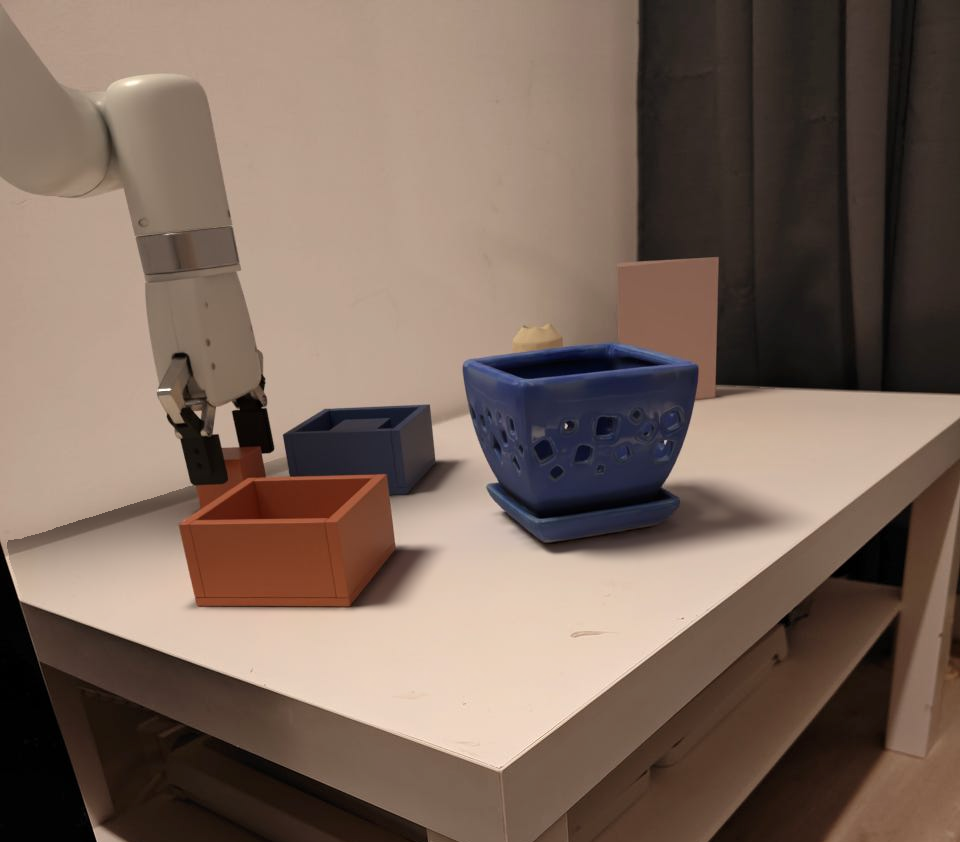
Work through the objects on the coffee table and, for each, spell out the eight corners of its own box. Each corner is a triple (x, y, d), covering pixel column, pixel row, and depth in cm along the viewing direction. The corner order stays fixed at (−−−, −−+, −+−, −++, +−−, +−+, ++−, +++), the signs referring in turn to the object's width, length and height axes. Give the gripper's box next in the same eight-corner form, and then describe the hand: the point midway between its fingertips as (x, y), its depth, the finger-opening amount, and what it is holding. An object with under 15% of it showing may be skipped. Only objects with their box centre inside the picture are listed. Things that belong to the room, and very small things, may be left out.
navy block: (335, 480, 85) (328, 430, 83) (351, 467, 89) (344, 419, 87) (382, 478, 84) (376, 429, 82) (396, 465, 88) (390, 417, 86)
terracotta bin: (196, 606, 61) (177, 524, 59) (261, 550, 70) (247, 477, 68) (350, 606, 59) (337, 521, 56) (396, 549, 68) (386, 474, 66)
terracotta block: (201, 511, 81) (190, 461, 79) (223, 496, 85) (213, 447, 83) (249, 511, 80) (239, 459, 78) (269, 495, 84) (260, 446, 82)
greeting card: (716, 395, 108) (720, 256, 102) (702, 409, 102) (705, 262, 96) (621, 395, 113) (619, 262, 107) (602, 408, 107) (599, 268, 101)
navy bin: (292, 496, 83) (282, 434, 81) (332, 465, 93) (324, 408, 90) (407, 494, 81) (399, 430, 79) (435, 462, 90) (430, 404, 88)
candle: (566, 410, 107) (562, 319, 103) (565, 421, 102) (561, 326, 98) (518, 413, 108) (512, 323, 104) (515, 424, 103) (509, 329, 99)
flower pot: (620, 485, 78) (618, 337, 73) (701, 529, 67) (705, 357, 62) (469, 511, 75) (456, 358, 70) (527, 561, 63) (516, 383, 58)
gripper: (197, 253, 83) (237, 445, 90) (86, 270, 67) (146, 499, 75) (275, 245, 81) (310, 441, 88) (180, 260, 66) (232, 495, 73)
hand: (235, 467), depth 81 cm, fingers open, 9 cm apart
